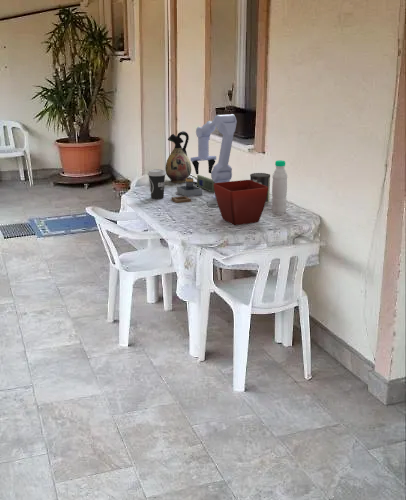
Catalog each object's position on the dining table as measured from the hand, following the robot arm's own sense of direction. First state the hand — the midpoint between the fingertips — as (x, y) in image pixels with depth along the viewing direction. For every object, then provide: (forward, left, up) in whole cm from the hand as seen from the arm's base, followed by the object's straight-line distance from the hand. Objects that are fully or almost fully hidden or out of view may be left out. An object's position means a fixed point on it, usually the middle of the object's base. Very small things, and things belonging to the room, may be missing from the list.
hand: (203, 173), depth 347 cm
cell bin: (-4, +10, -10) cm, 15 cm away
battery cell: (-4, +10, -9) cm, 14 cm away
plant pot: (-66, +9, -10) cm, 67 cm away
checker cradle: (-18, +20, -10) cm, 29 cm away
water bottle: (-59, -15, -10) cm, 62 cm away
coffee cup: (-7, +30, -10) cm, 32 cm away
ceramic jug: (+30, +3, -10) cm, 32 cm away
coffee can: (-35, -17, -10) cm, 40 cm away
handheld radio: (+7, -3, -10) cm, 13 cm away
